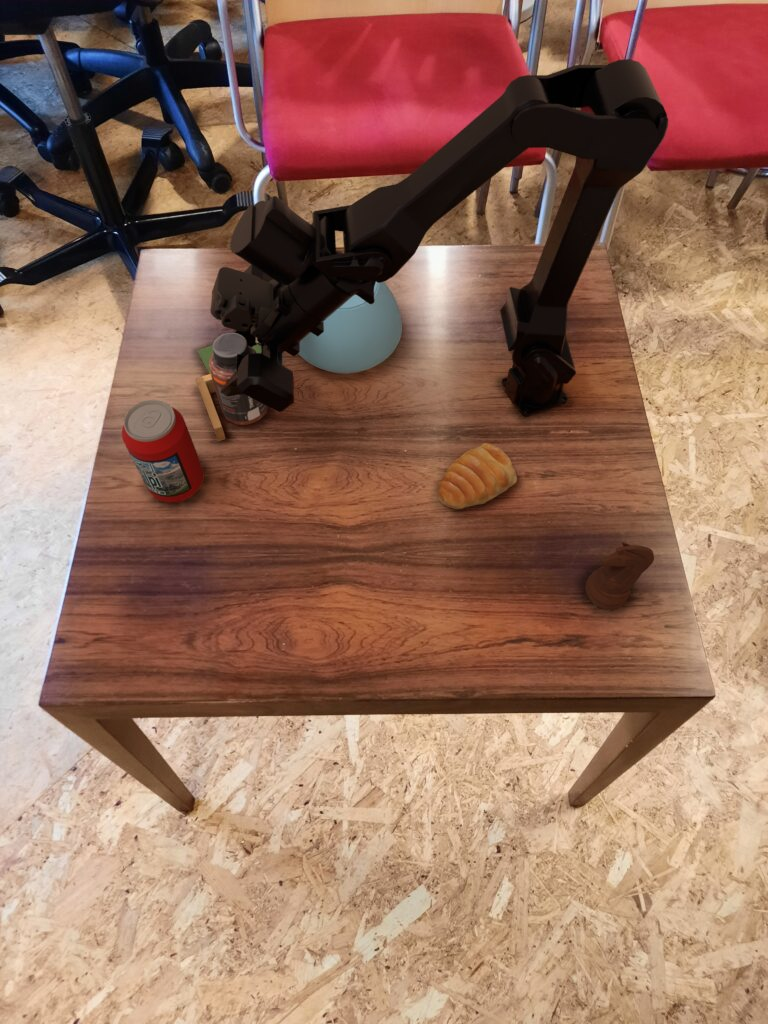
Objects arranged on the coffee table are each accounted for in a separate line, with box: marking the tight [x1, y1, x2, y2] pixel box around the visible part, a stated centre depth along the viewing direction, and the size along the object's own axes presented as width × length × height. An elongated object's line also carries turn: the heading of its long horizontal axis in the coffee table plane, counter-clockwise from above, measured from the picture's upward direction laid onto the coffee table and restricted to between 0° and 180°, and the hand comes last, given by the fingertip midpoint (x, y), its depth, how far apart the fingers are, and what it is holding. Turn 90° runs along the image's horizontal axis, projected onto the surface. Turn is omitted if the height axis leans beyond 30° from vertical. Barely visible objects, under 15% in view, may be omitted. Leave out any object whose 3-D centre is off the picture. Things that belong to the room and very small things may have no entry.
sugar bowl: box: [297, 281, 403, 375], centre depth 95 cm, size 15×15×12 cm
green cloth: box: [196, 344, 261, 374], centre depth 98 cm, size 8×6×1 cm
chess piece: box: [585, 541, 655, 611], centre depth 76 cm, size 5×5×10 cm
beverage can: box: [121, 399, 204, 503], centre depth 82 cm, size 7×7×12 cm
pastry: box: [437, 443, 518, 510], centre depth 86 cm, size 9×7×4 cm
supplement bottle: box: [209, 332, 269, 426], centre depth 89 cm, size 6×6×11 cm
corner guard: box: [195, 373, 227, 442], centre depth 93 cm, size 10×9×2 cm
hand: (225, 373), depth 88 cm, fingers closed on supplement bottle, 6 cm apart
